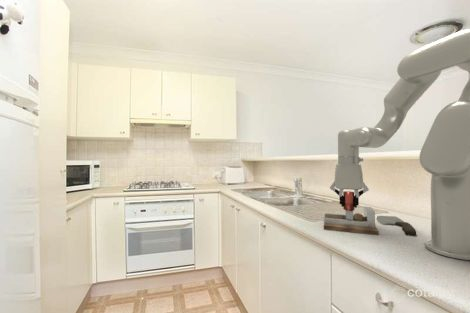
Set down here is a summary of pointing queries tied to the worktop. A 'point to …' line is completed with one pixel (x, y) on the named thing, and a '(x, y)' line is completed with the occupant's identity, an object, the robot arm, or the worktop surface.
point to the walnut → (358, 217)
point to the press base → (352, 229)
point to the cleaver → (397, 224)
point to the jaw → (348, 204)
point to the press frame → (340, 220)
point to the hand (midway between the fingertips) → (348, 206)
